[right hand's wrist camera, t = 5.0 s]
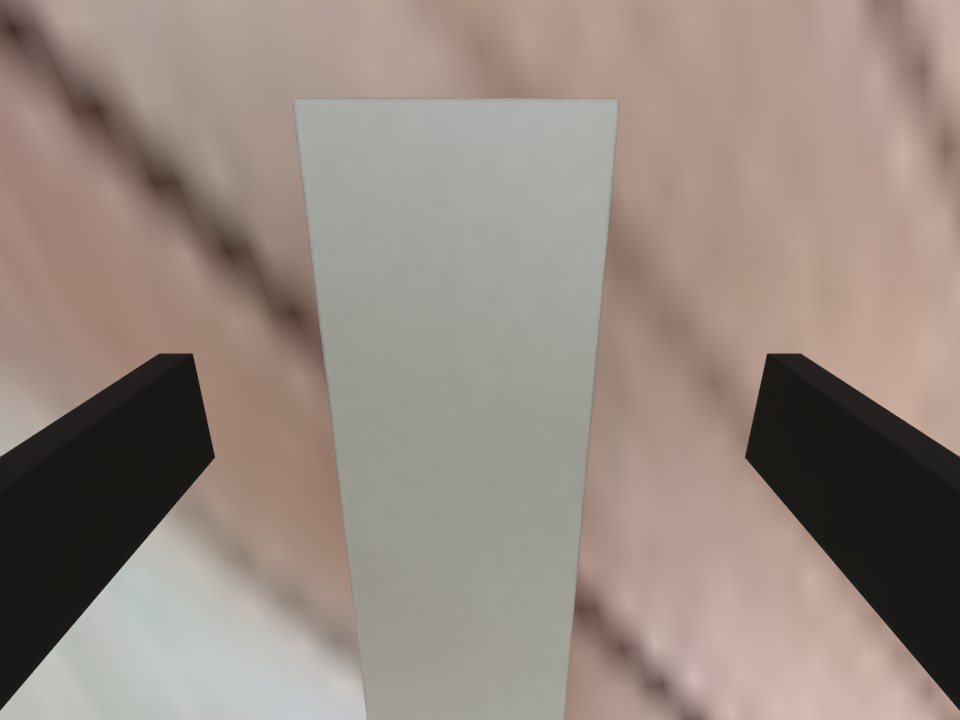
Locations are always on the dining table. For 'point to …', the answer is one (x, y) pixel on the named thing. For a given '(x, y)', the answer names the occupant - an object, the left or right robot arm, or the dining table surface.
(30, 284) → the dining table surface
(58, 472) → the right robot arm
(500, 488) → the beam
